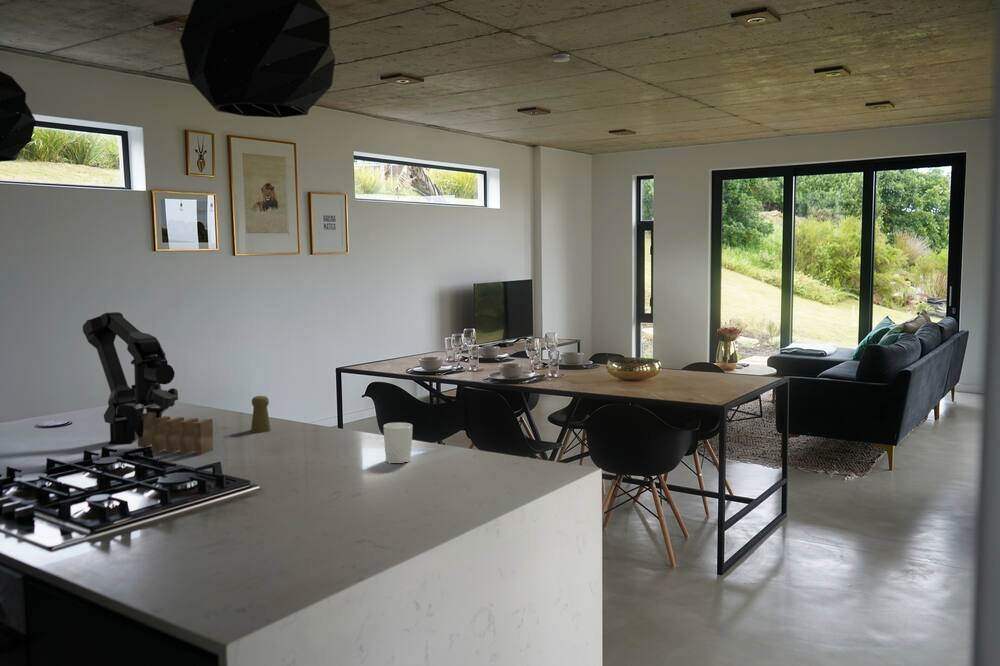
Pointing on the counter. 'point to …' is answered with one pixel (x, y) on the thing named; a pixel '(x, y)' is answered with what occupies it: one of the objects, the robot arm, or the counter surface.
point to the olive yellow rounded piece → (260, 414)
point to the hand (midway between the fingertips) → (147, 434)
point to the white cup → (398, 442)
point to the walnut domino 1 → (147, 430)
